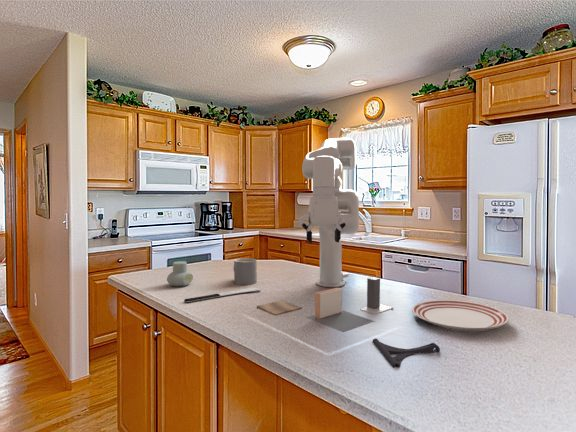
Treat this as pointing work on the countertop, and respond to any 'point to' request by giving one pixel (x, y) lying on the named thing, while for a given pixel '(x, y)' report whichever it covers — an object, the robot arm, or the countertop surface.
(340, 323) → the mat
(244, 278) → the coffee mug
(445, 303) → the dinner plate
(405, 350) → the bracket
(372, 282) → the white base with post
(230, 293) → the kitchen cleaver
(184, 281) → the air freshener
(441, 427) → the countertop surface
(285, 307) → the board
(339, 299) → the block
